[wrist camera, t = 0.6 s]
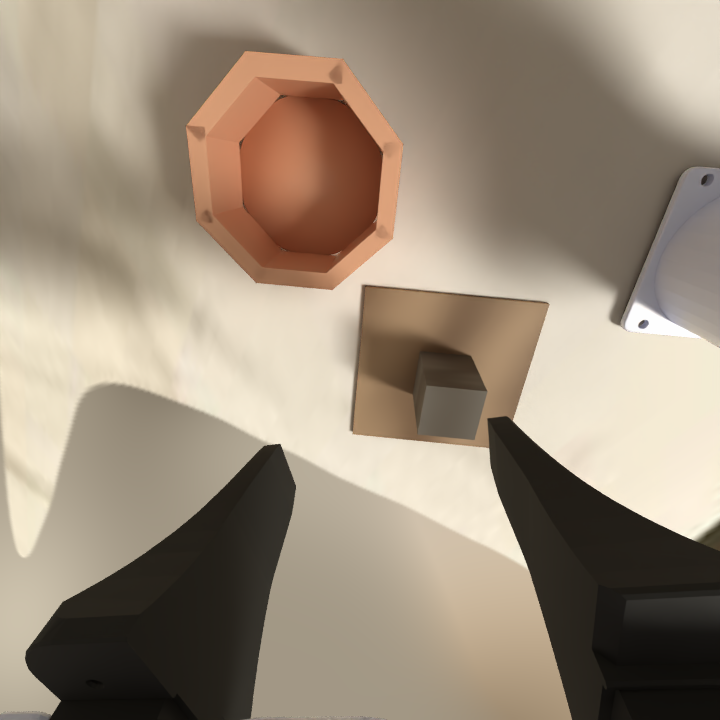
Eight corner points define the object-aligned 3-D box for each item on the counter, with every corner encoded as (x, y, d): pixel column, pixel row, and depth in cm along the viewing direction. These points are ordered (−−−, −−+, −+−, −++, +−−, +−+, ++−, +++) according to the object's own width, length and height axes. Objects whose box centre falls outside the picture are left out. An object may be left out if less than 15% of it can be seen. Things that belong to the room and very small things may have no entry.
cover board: (544, 299, 21) (583, 332, 17) (500, 441, 26) (523, 495, 22) (366, 283, 22) (361, 311, 17) (353, 426, 26) (347, 477, 22)
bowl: (406, 89, 17) (412, 64, 13) (386, 270, 21) (386, 295, 17) (225, 73, 17) (176, 45, 13) (237, 257, 21) (202, 278, 17)
